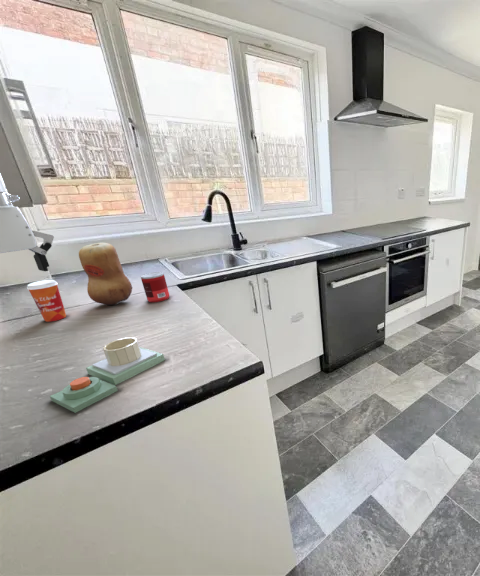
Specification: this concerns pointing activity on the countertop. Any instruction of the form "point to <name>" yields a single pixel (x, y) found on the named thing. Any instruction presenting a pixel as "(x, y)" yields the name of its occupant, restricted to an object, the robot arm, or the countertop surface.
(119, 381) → the scale
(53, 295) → the paper cup
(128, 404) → the countertop surface
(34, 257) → the robot arm
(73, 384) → the button
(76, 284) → the countertop surface
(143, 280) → the canned food
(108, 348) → the bowl
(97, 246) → the butternut squash
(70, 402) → the pad
